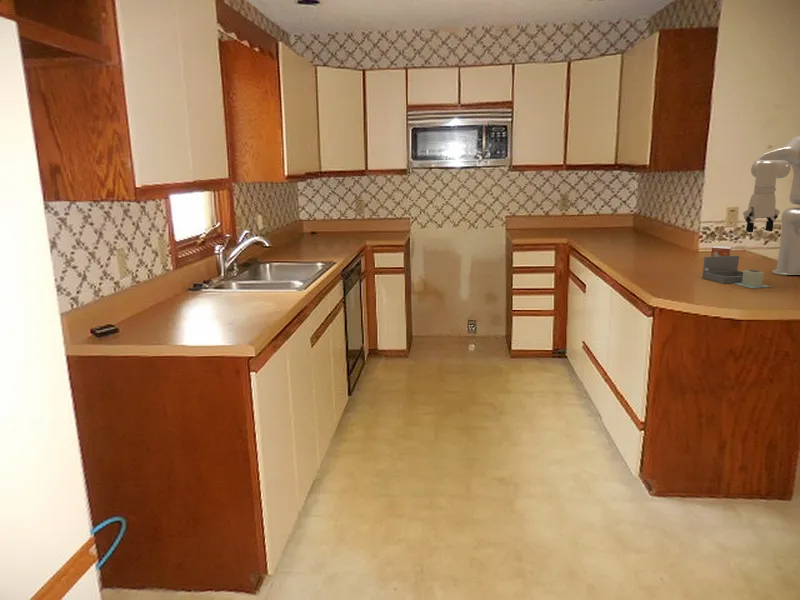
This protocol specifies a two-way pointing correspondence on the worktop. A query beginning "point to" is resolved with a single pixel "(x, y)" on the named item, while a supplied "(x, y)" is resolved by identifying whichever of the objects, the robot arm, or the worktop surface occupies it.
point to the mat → (751, 286)
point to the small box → (720, 251)
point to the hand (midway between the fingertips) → (759, 231)
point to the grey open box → (722, 269)
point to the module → (752, 278)
